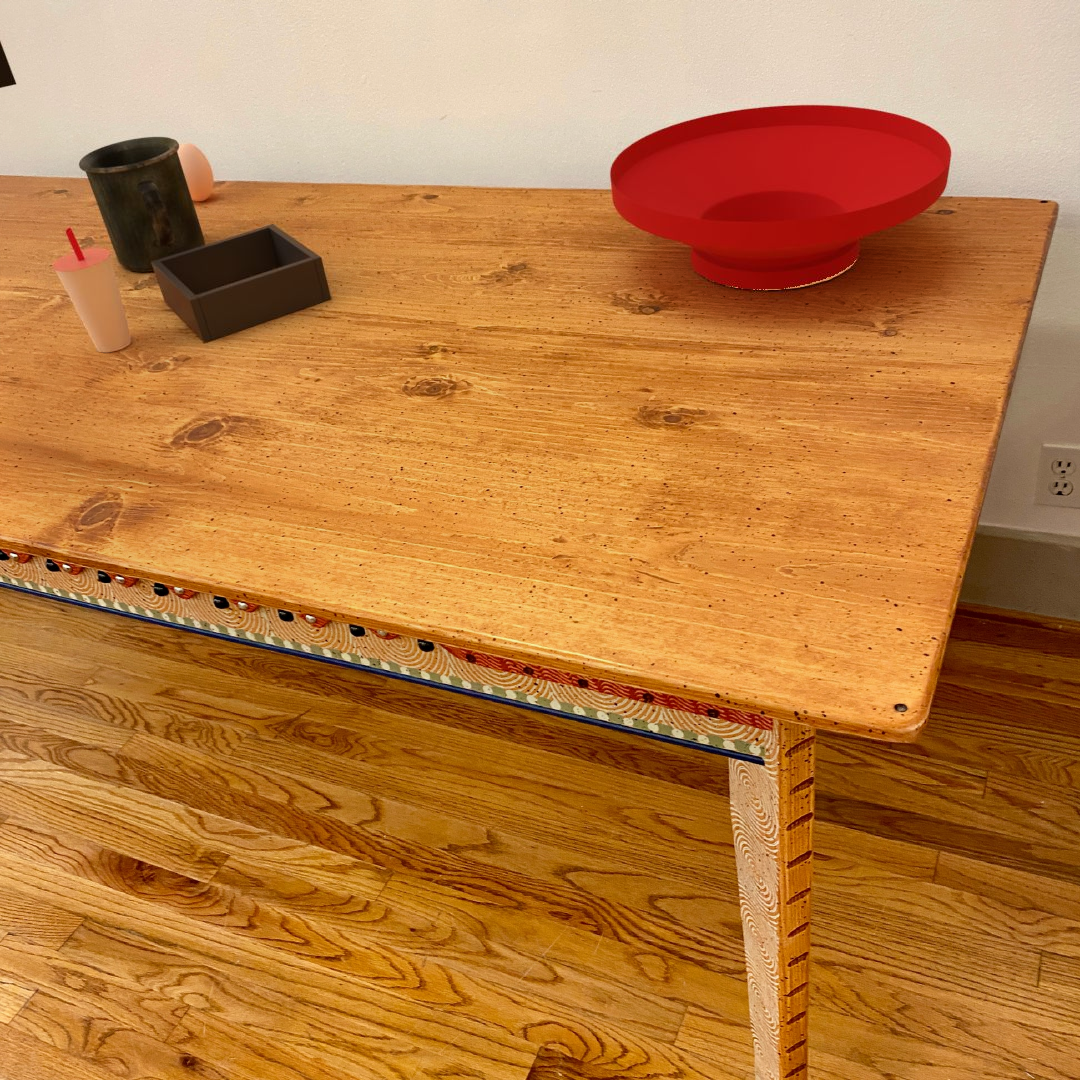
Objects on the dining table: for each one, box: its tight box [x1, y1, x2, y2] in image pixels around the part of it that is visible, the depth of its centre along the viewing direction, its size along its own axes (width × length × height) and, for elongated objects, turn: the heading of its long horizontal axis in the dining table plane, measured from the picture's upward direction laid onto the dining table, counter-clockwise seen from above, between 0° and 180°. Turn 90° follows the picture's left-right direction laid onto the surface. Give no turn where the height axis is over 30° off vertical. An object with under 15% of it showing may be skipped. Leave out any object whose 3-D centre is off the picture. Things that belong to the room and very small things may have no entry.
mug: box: [78, 136, 206, 272], centre depth 122 cm, size 11×15×12 cm
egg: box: [177, 142, 215, 202], centre depth 140 cm, size 5×5×7 cm
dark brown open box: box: [151, 223, 332, 344], centre depth 111 cm, size 14×14×4 cm
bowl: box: [609, 104, 952, 291], centre depth 103 cm, size 30×30×10 cm
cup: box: [51, 226, 133, 353], centre depth 104 cm, size 5×5×12 cm
